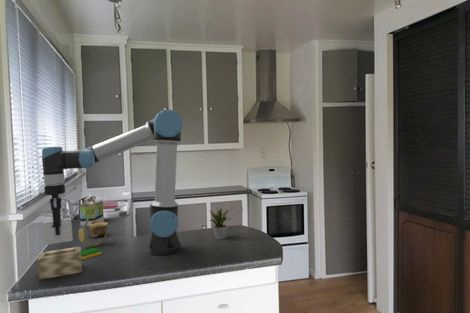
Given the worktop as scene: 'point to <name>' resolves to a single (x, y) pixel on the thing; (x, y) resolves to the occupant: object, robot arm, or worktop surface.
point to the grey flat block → (65, 229)
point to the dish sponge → (90, 253)
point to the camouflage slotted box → (59, 262)
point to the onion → (97, 229)
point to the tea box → (86, 210)
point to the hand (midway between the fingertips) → (58, 241)
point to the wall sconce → (97, 226)
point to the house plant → (219, 224)
